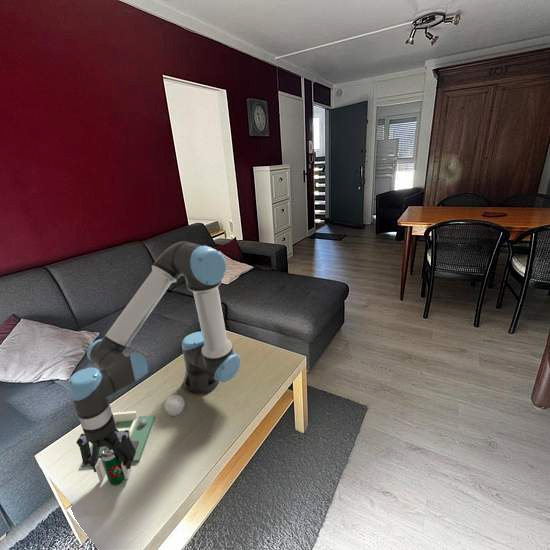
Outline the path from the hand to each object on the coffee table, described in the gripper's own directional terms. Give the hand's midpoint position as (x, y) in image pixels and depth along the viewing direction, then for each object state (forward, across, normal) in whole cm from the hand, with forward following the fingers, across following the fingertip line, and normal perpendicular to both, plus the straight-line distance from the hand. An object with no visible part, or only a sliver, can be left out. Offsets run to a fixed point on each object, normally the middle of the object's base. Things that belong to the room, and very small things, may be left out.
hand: (115, 475), depth 92 cm
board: (+2, +4, -14) cm, 15 cm away
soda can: (+2, 0, 0) cm, 2 cm away
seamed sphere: (+2, -11, -25) cm, 27 cm away
